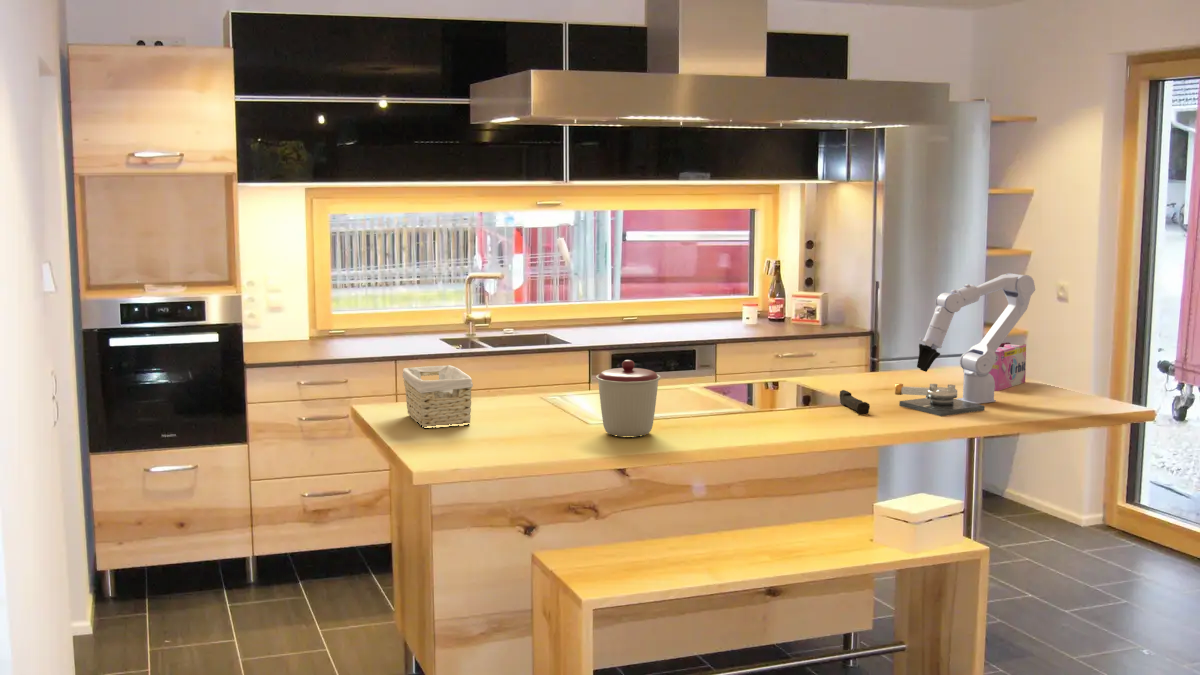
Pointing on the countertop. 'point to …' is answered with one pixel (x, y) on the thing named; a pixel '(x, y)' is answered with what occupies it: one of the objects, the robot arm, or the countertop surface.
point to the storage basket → (438, 395)
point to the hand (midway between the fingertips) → (921, 369)
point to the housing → (942, 406)
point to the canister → (628, 399)
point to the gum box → (1009, 366)
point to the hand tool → (853, 402)
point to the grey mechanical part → (928, 391)
